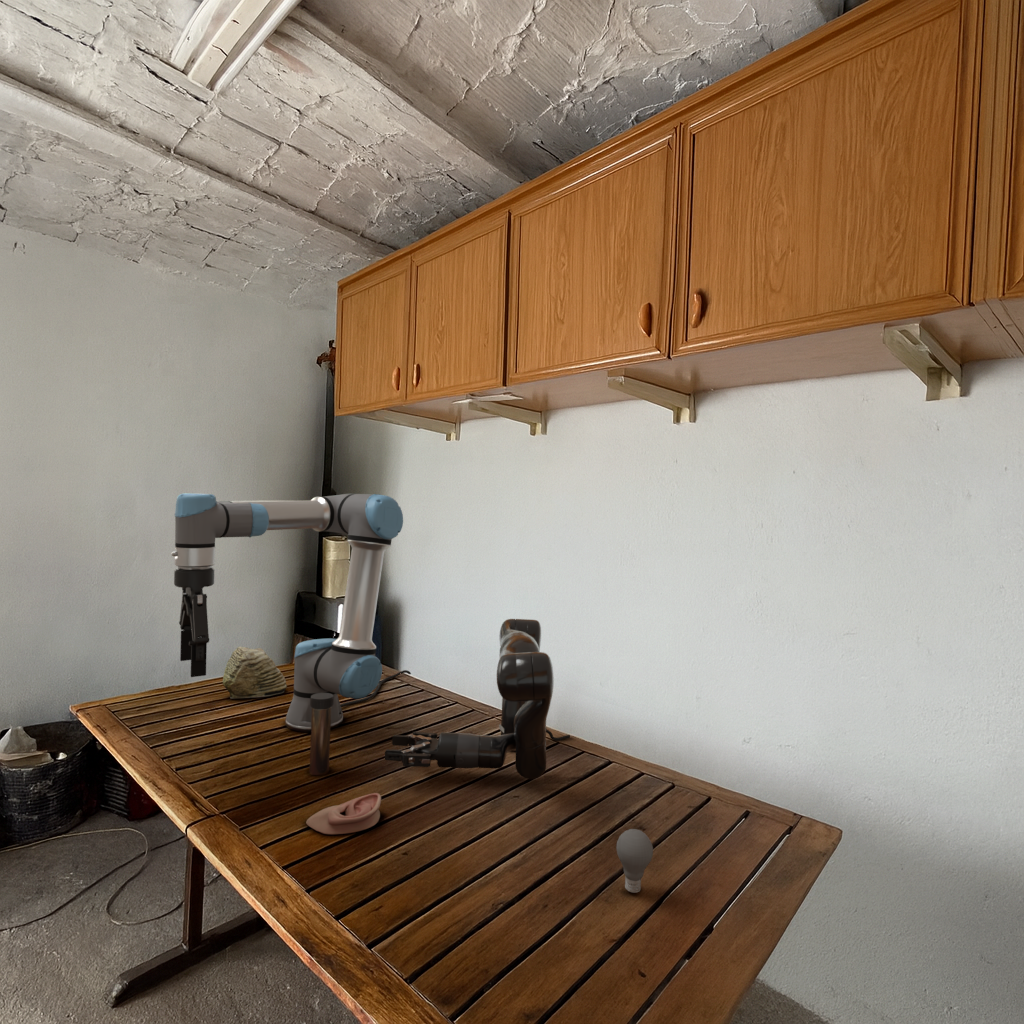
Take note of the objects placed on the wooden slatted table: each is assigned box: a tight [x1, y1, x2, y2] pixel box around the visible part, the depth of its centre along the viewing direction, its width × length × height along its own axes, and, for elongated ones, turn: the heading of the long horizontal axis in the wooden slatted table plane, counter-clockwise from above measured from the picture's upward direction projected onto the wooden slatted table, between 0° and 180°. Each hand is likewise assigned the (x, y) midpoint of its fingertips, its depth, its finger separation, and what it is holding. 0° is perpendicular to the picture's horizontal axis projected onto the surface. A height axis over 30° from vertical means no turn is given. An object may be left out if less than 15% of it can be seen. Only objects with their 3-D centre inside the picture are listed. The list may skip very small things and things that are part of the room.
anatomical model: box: [305, 792, 382, 835], centre depth 124 cm, size 13×4×12 cm
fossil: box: [222, 646, 288, 699], centre depth 198 cm, size 9×18×15 cm, turn 132°
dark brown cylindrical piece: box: [309, 707, 331, 776], centre depth 146 cm, size 4×4×17 cm
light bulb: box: [615, 828, 654, 894], centre depth 106 cm, size 6×6×10 cm
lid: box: [310, 693, 333, 709], centre depth 146 cm, size 5×5×2 cm
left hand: (192, 667), depth 133 cm, fingers open, 13 cm apart
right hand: (388, 747), depth 145 cm, fingers open, 8 cm apart
